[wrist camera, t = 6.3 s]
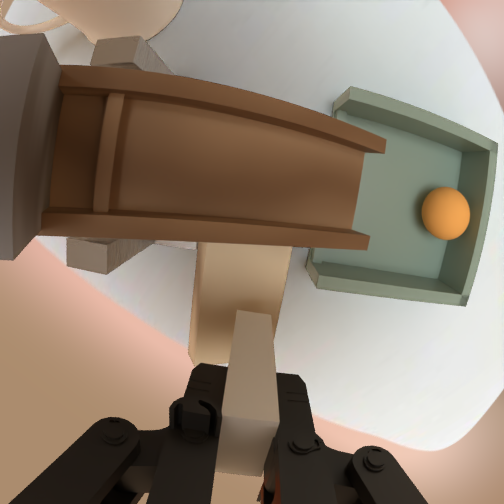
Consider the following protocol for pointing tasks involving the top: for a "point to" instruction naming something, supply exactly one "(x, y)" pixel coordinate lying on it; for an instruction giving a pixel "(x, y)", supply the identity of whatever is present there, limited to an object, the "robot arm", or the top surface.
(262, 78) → the top surface
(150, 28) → the mug
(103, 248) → the stand
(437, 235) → the ball
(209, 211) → the lever
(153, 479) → the robot arm
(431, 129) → the tray
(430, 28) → the top surface
